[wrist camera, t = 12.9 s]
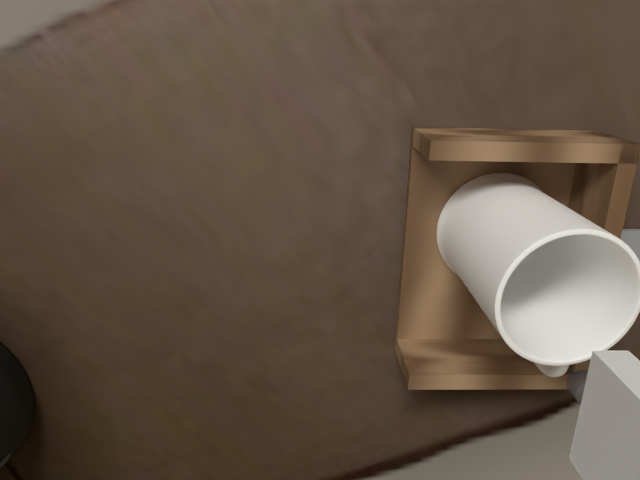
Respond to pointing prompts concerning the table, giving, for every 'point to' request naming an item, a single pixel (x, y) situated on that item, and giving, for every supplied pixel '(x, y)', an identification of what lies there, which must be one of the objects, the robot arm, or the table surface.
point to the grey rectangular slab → (632, 240)
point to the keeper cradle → (446, 286)
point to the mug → (539, 270)
